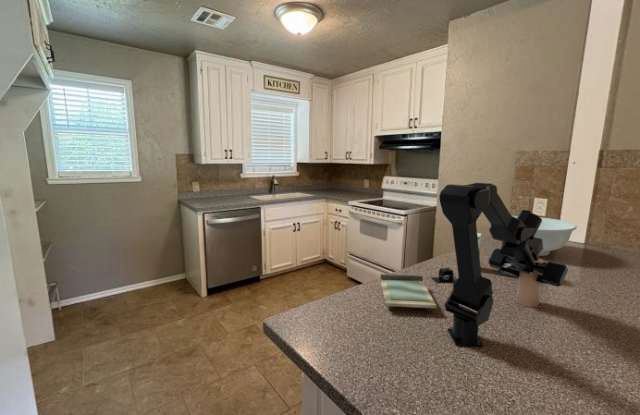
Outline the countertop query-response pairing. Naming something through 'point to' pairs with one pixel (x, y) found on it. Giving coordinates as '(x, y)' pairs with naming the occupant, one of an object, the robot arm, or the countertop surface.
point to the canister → (529, 288)
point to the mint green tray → (406, 292)
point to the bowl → (553, 234)
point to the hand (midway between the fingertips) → (531, 280)
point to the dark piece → (448, 277)
